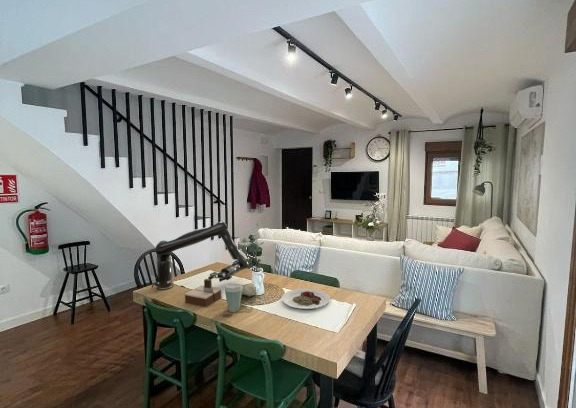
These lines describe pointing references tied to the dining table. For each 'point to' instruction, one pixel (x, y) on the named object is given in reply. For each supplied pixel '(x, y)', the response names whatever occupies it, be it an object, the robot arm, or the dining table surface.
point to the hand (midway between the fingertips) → (214, 279)
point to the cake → (202, 296)
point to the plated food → (306, 298)
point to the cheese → (249, 290)
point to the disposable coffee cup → (233, 296)
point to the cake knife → (208, 286)
